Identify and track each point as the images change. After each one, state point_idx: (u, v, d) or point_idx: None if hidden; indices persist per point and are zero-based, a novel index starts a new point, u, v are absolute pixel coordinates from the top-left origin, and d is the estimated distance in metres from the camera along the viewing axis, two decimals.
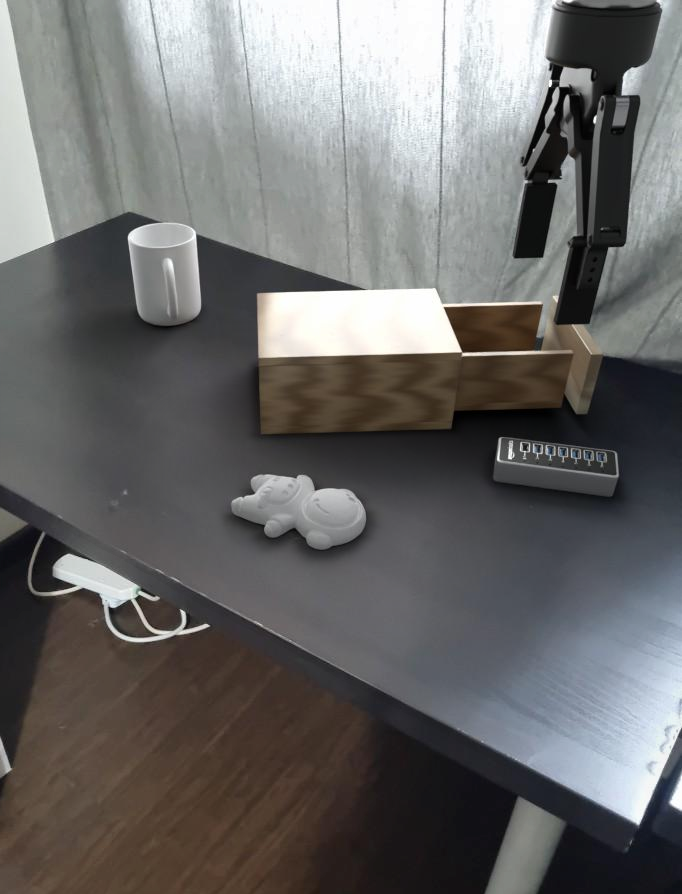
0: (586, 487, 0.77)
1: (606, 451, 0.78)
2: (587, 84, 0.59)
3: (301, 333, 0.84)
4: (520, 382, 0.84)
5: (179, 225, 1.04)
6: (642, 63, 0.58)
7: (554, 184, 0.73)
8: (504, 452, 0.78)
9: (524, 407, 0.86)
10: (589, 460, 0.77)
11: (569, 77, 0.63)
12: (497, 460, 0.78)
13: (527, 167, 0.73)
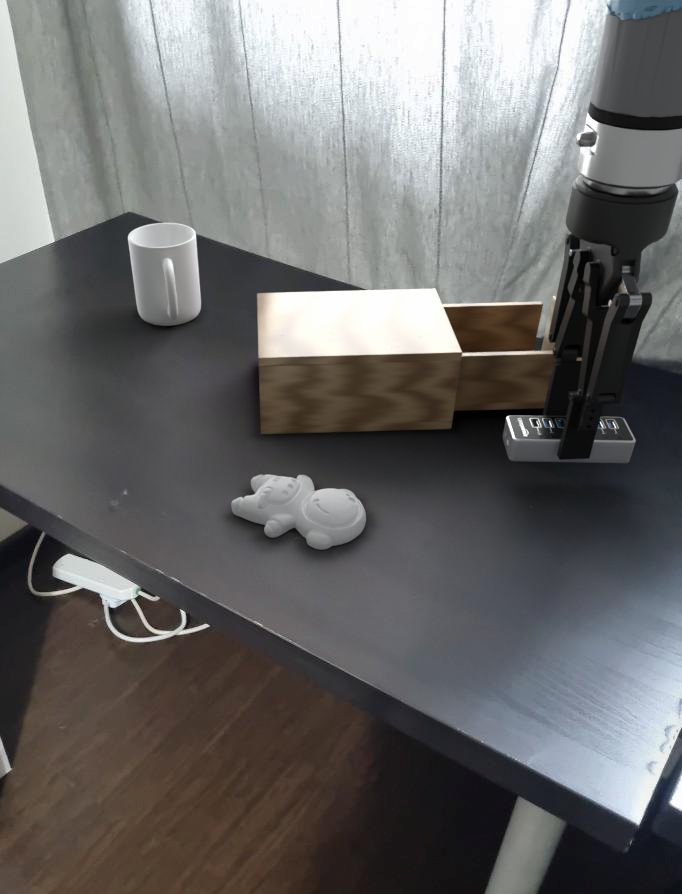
0: (604, 455, 0.75)
1: (614, 417, 0.77)
2: (607, 256, 0.63)
3: (301, 333, 0.84)
4: (520, 382, 0.84)
5: (179, 225, 1.04)
6: (659, 239, 0.62)
7: None
8: (517, 430, 0.76)
9: (524, 407, 0.86)
10: (602, 428, 0.76)
11: None
12: (513, 439, 0.75)
13: (555, 346, 0.75)
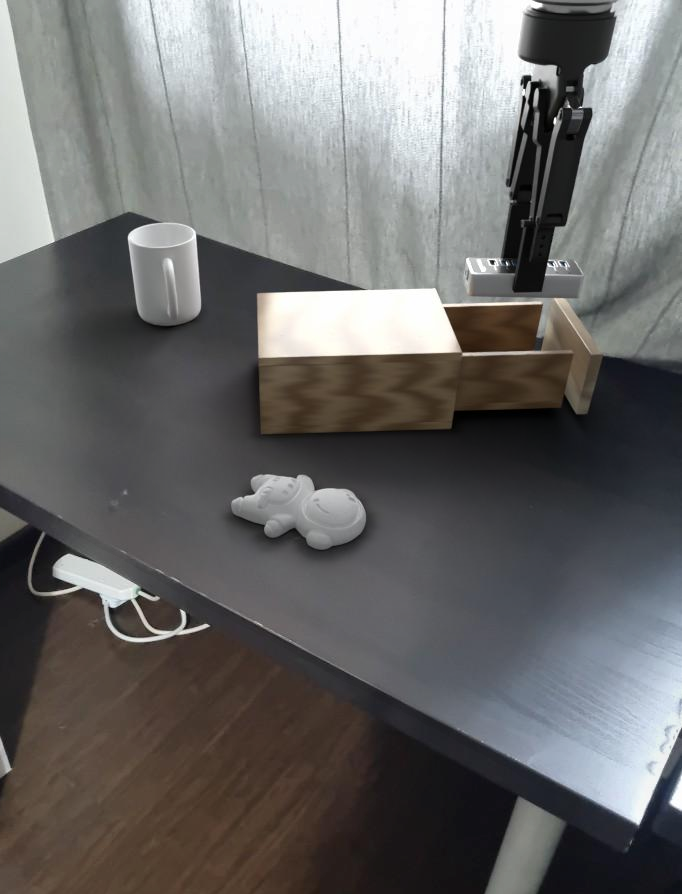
0: (556, 290, 0.81)
1: (566, 259, 0.83)
2: (553, 78, 0.69)
3: (301, 333, 0.84)
4: (520, 382, 0.84)
5: (179, 225, 1.04)
6: (600, 60, 0.68)
7: None
8: (476, 267, 0.82)
9: (524, 407, 0.86)
10: (554, 266, 0.82)
11: (539, 73, 0.72)
12: (472, 273, 0.81)
13: (511, 188, 0.81)
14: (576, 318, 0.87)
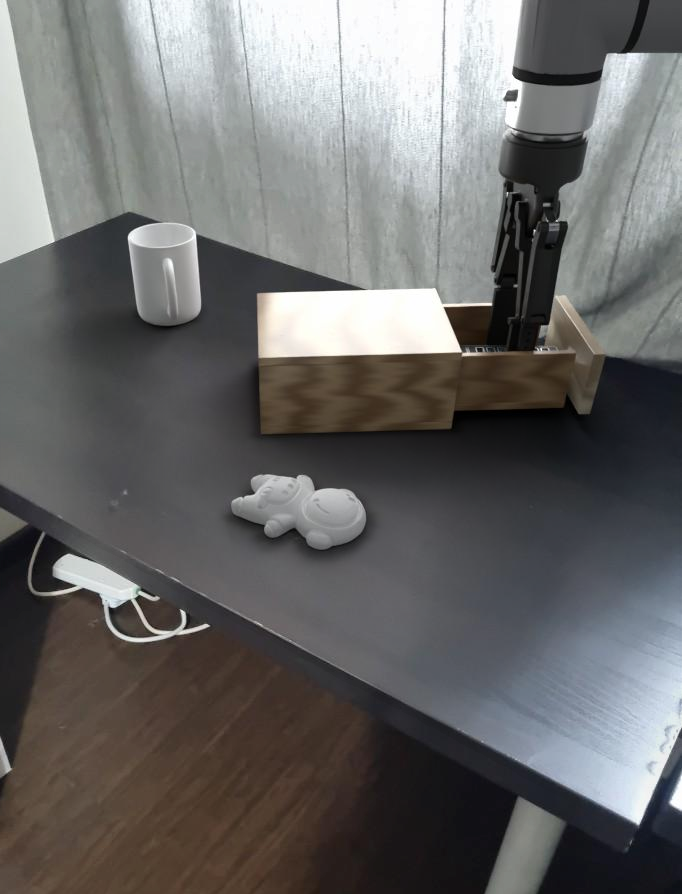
0: None
1: (548, 346, 0.90)
2: (531, 195, 0.75)
3: (301, 333, 0.84)
4: (523, 382, 0.84)
5: (179, 225, 1.04)
6: (574, 180, 0.74)
7: None
8: None
9: (527, 407, 0.86)
10: None
11: (520, 185, 0.79)
12: None
13: (496, 274, 0.88)
14: (578, 318, 0.87)
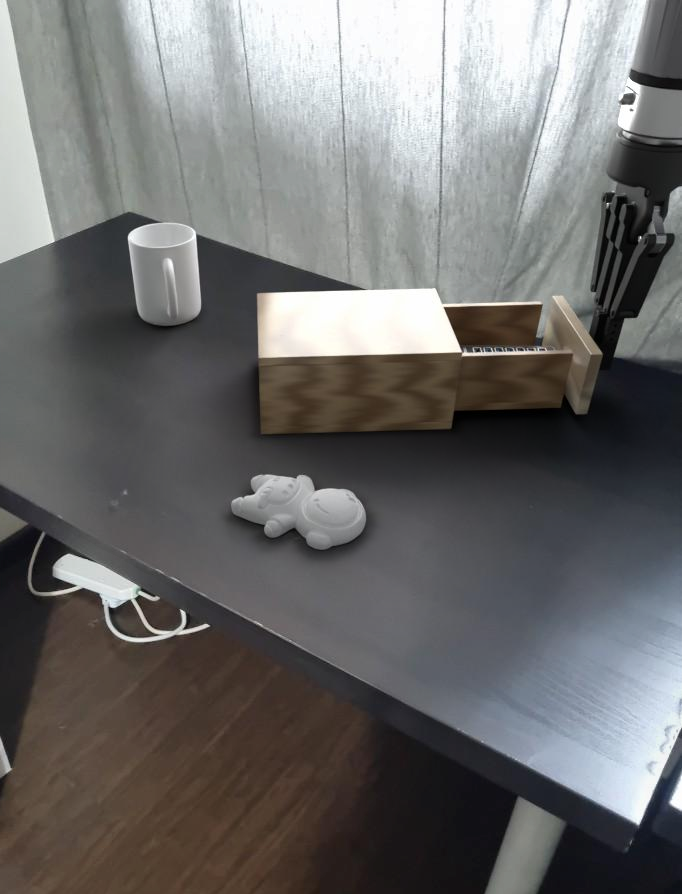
0: None
1: (545, 346, 0.90)
2: (641, 198, 0.76)
3: (301, 333, 0.84)
4: (520, 382, 0.84)
5: (179, 225, 1.04)
6: None
7: None
8: None
9: (524, 407, 0.86)
10: None
11: (624, 188, 0.79)
12: None
13: (596, 294, 0.86)
14: (576, 318, 0.87)
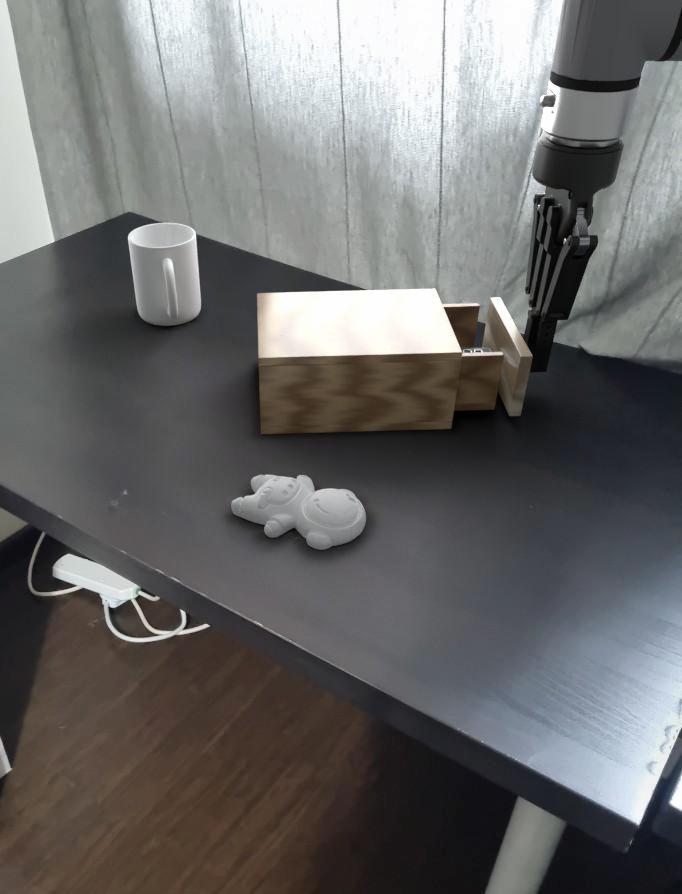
0: None
1: (482, 348, 0.90)
2: (565, 200, 0.76)
3: (301, 333, 0.84)
4: None
5: (179, 225, 1.04)
6: (608, 186, 0.75)
7: None
8: None
9: (457, 409, 0.86)
10: None
11: (552, 190, 0.79)
12: None
13: (530, 296, 0.86)
14: (510, 320, 0.87)
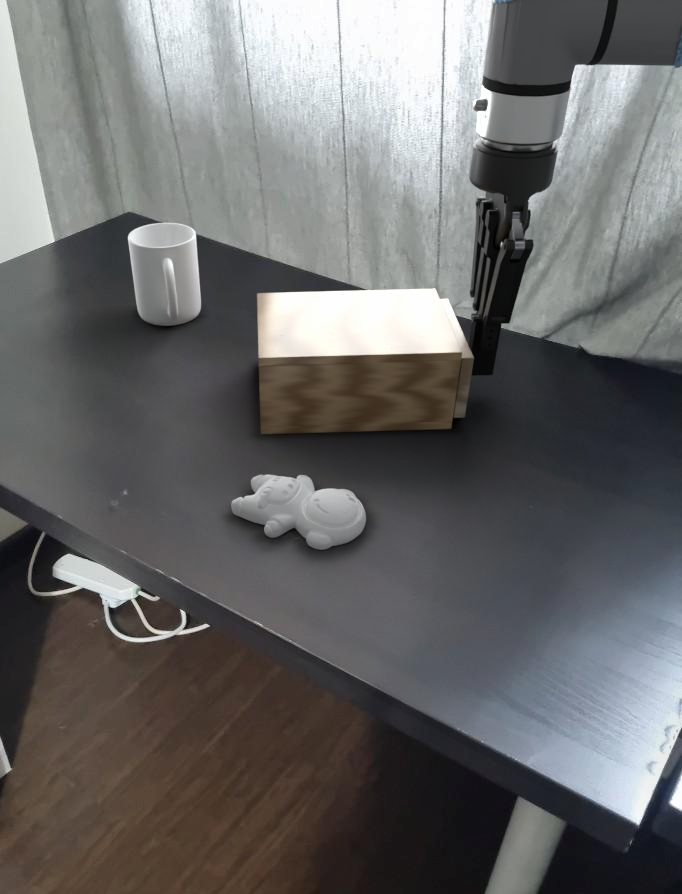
0: None
1: None
2: (501, 204, 0.76)
3: (301, 333, 0.84)
4: None
5: (179, 225, 1.04)
6: (543, 189, 0.75)
7: None
8: None
9: None
10: None
11: (491, 193, 0.79)
12: None
13: (474, 299, 0.86)
14: (455, 321, 0.87)
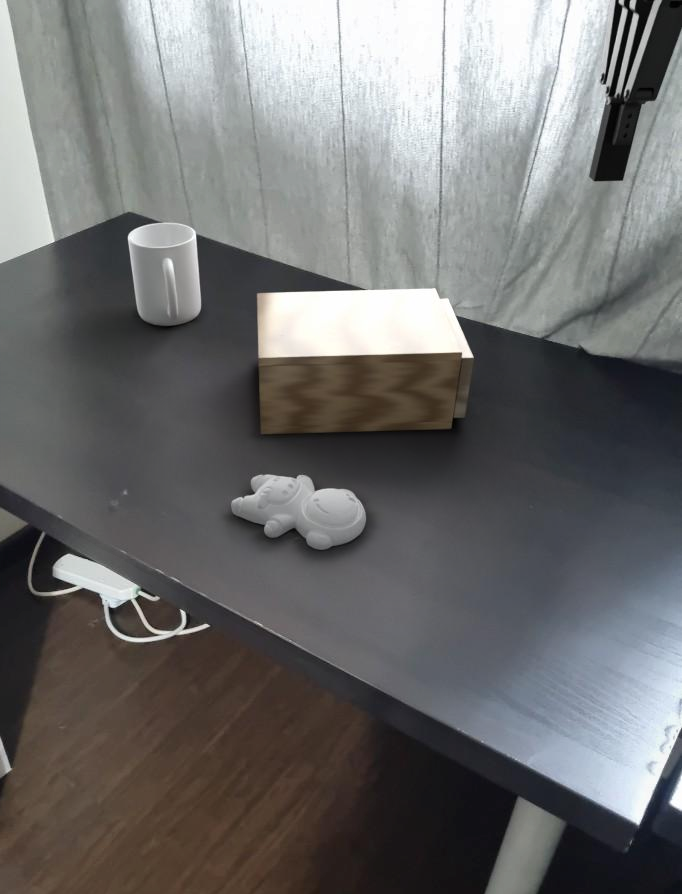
0: None
1: None
2: None
3: (301, 333, 0.84)
4: None
5: (179, 225, 1.04)
6: None
7: None
8: None
9: None
10: None
11: None
12: None
13: (607, 83, 0.73)
14: (455, 321, 0.87)
